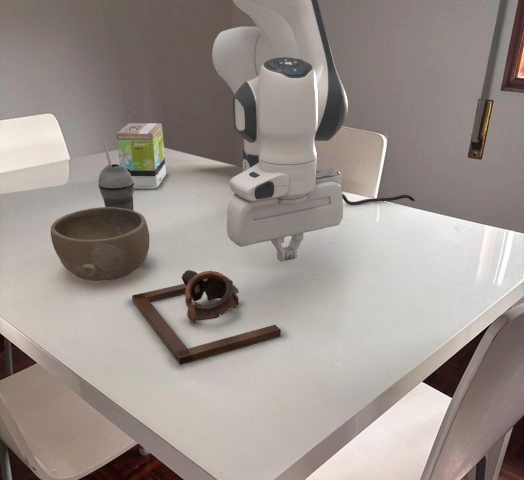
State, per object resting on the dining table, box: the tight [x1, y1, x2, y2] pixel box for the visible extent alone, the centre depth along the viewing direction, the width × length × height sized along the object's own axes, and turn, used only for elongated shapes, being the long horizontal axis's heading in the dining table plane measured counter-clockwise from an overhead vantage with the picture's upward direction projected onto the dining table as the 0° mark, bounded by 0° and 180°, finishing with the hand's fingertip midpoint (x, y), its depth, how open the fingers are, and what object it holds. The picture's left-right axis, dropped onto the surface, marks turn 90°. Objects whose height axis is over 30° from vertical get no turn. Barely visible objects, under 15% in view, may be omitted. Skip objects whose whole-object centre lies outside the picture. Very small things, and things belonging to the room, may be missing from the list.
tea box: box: [115, 122, 167, 190], centre depth 156 cm, size 15×10×15 cm, turn 179°
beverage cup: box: [98, 141, 135, 211], centre depth 118 cm, size 7×7×20 cm
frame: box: [131, 278, 282, 366], centre depth 91 cm, size 16×23×1 cm
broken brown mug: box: [181, 269, 240, 324], centre depth 92 cm, size 12×10×8 cm
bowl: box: [50, 206, 150, 282], centre depth 105 cm, size 17×18×10 cm
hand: (286, 259), depth 95 cm, fingers closed
